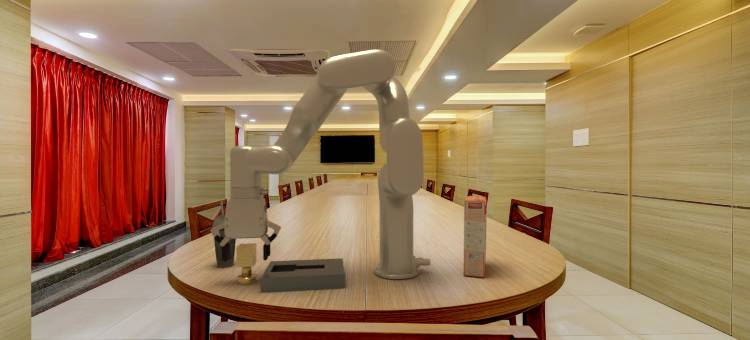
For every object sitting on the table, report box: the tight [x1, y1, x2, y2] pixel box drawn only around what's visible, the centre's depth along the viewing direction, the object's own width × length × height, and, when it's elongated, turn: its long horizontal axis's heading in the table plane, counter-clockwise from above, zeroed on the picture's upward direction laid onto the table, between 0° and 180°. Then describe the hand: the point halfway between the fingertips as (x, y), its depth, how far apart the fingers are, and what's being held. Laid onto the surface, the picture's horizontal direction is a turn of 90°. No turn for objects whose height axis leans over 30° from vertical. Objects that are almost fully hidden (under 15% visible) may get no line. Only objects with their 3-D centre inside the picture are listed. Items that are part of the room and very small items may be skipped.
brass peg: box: [235, 242, 257, 286], centre depth 86 cm, size 4×4×10 cm
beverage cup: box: [211, 199, 237, 269], centre depth 101 cm, size 7×7×20 cm
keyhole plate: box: [259, 258, 346, 293], centre depth 88 cm, size 20×14×4 cm
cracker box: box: [463, 195, 488, 279], centre depth 96 cm, size 14×6×21 cm, turn 161°
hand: (246, 259), depth 86 cm, fingers open, 9 cm apart
